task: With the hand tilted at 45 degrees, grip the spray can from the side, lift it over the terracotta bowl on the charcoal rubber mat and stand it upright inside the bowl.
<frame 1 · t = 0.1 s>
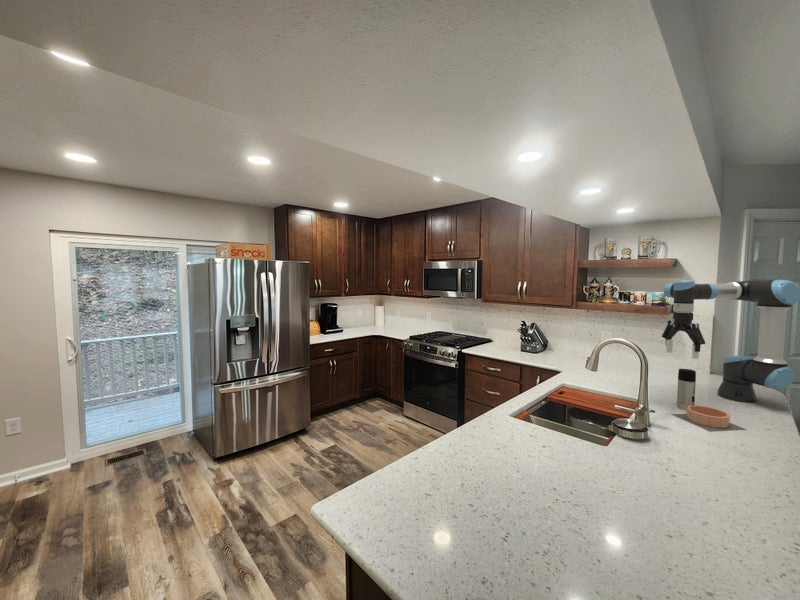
hand: (681, 355, 161), 28 cm above the counter, tool pointing down, fingers open, 13 cm apart
mat: (707, 422, 149), on the counter
bowl: (707, 421, 149), resting on mat
spray can: (685, 409, 165), on the counter
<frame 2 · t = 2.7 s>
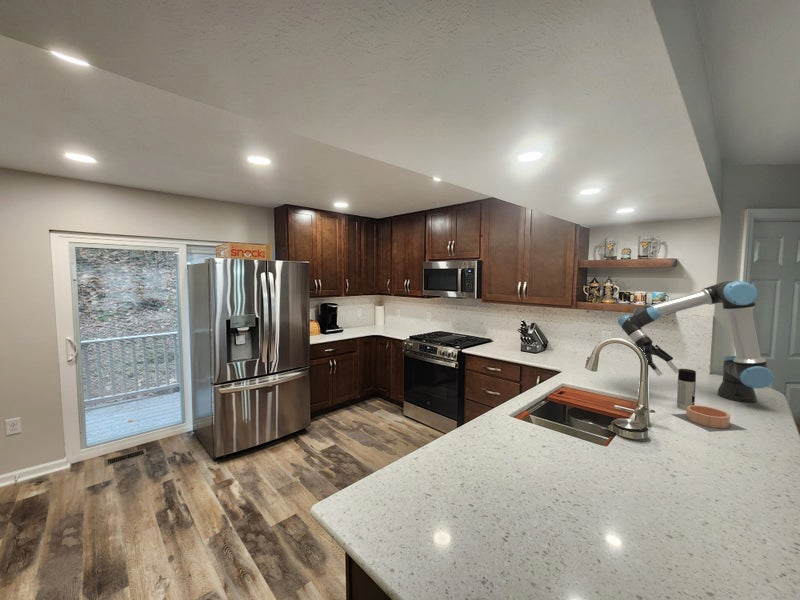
hand: (669, 373, 170), 16 cm above the counter, tool tilted 45°, fingers open, 13 cm apart
nothing on the counter moved.
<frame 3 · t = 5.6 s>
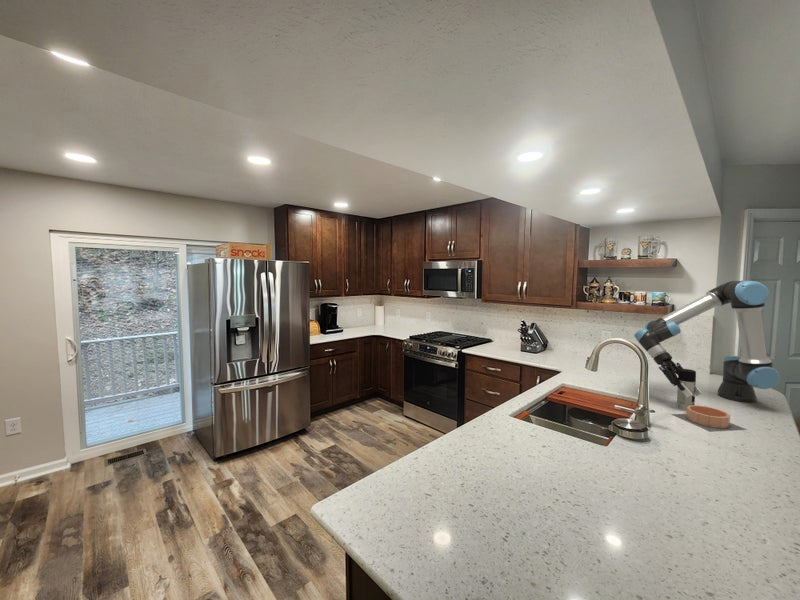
hand: (694, 395, 161), 8 cm above the counter, tool tilted 45°, fingers closed on spray can, 7 cm apart
spray can: (685, 409, 165), on the counter, touching gripper
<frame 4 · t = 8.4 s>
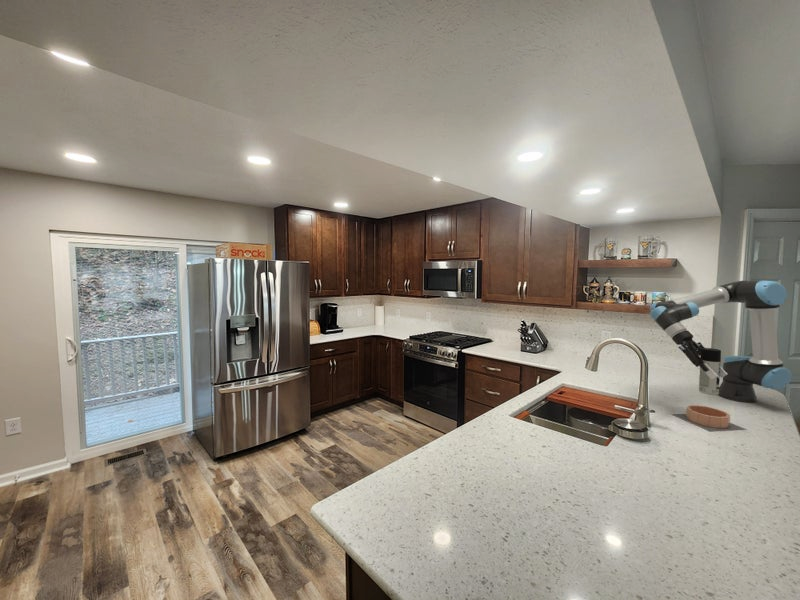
hand: (719, 376, 145), 22 cm above the counter, tool tilted 45°, fingers closed on spray can, 7 cm apart
spray can: (708, 393, 149), point 14 cm above the counter, touching gripper
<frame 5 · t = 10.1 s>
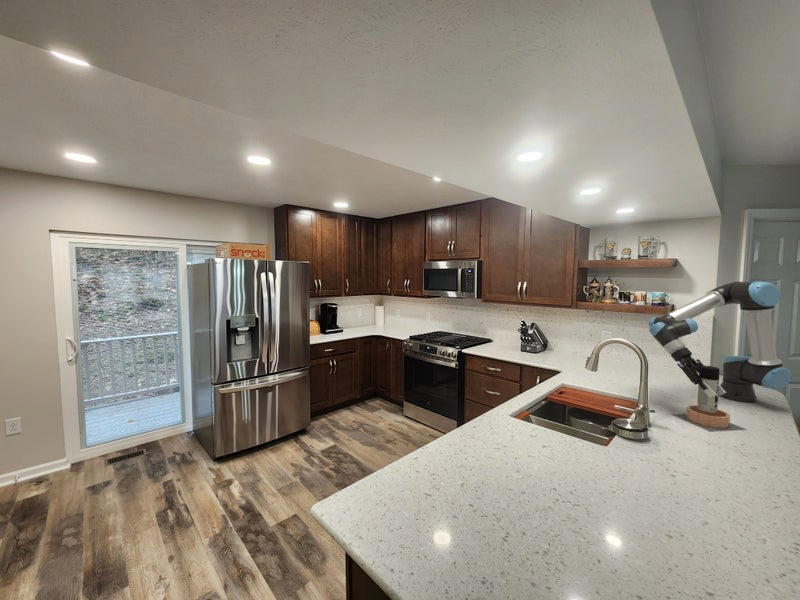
hand: (717, 394, 145), 14 cm above the counter, tool tilted 45°, fingers closed on spray can, 7 cm apart
spray can: (706, 411, 149), point 5 cm above the counter, touching gripper
when the fingers open (11 cm above the counter, at t = 11.2 s): spray can drops 1 cm, resting on bowl.
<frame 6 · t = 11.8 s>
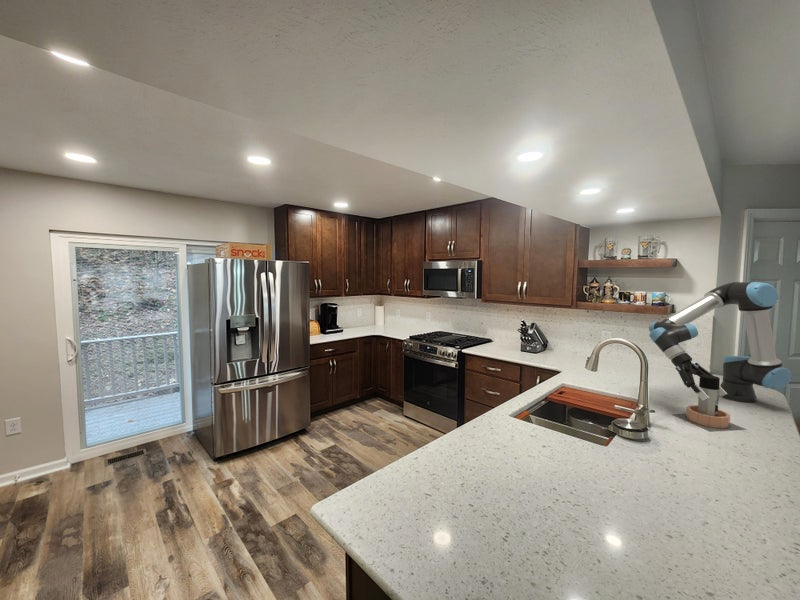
hand: (715, 397, 146), 13 cm above the counter, tool tilted 45°, fingers open, 13 cm apart
spray can: (706, 420, 149), point 1 cm above the counter, touching bowl
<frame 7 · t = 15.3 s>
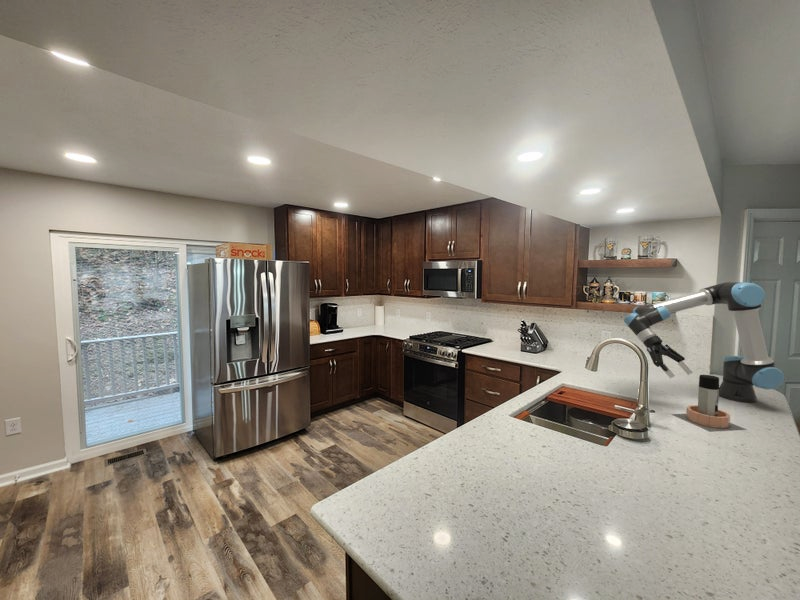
hand: (682, 375, 158), 19 cm above the counter, tool tilted 45°, fingers open, 13 cm apart
nothing on the counter moved.
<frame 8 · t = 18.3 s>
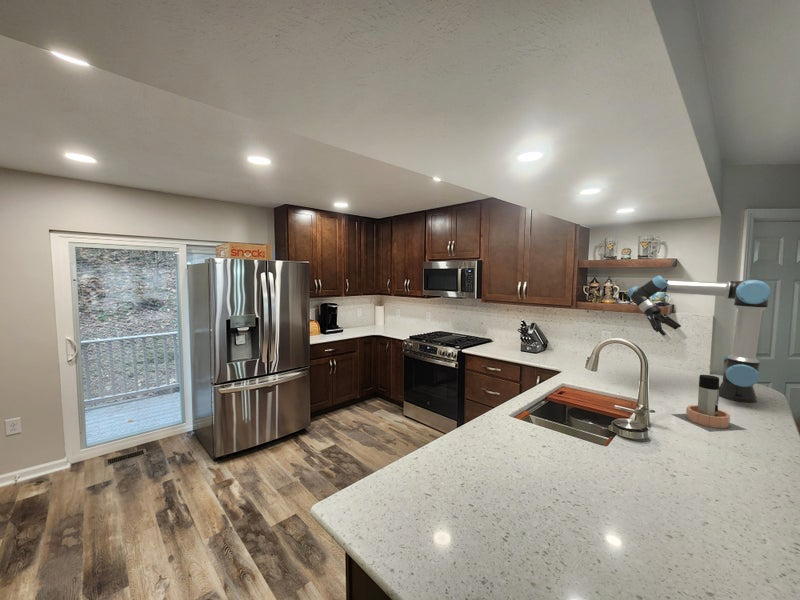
hand: (678, 339, 178), 33 cm above the counter, tool tilted 45°, fingers open, 13 cm apart
nothing on the counter moved.
at the end: spray can inside the target area on the bowl (0.1 cm from its centre), point 0.6 cm above the bowl's base; spray can tilted 0°; the gripper is holding nothing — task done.
